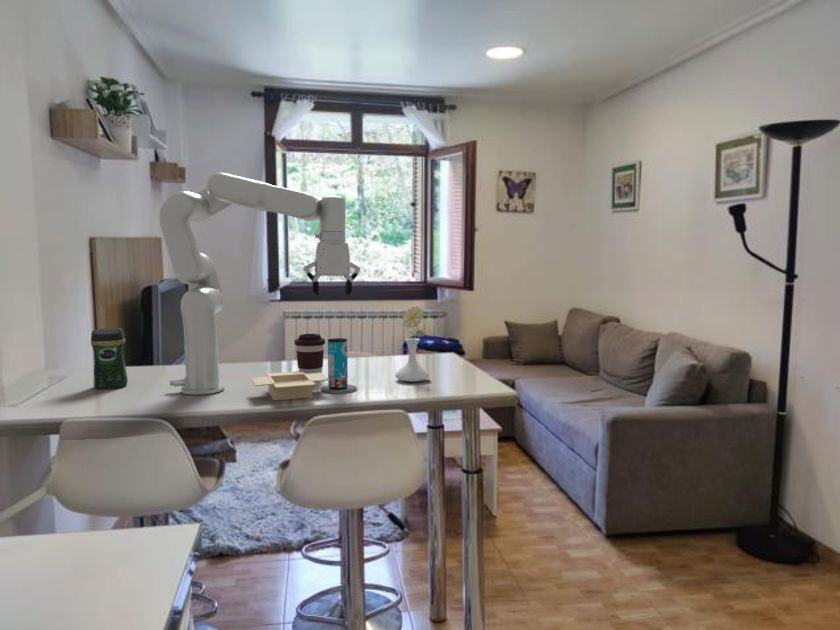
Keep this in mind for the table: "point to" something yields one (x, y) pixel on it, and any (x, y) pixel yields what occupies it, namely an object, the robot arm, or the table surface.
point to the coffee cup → (310, 353)
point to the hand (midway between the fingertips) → (332, 294)
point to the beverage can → (337, 363)
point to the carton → (289, 384)
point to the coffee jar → (109, 358)
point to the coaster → (341, 391)
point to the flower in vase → (412, 348)
